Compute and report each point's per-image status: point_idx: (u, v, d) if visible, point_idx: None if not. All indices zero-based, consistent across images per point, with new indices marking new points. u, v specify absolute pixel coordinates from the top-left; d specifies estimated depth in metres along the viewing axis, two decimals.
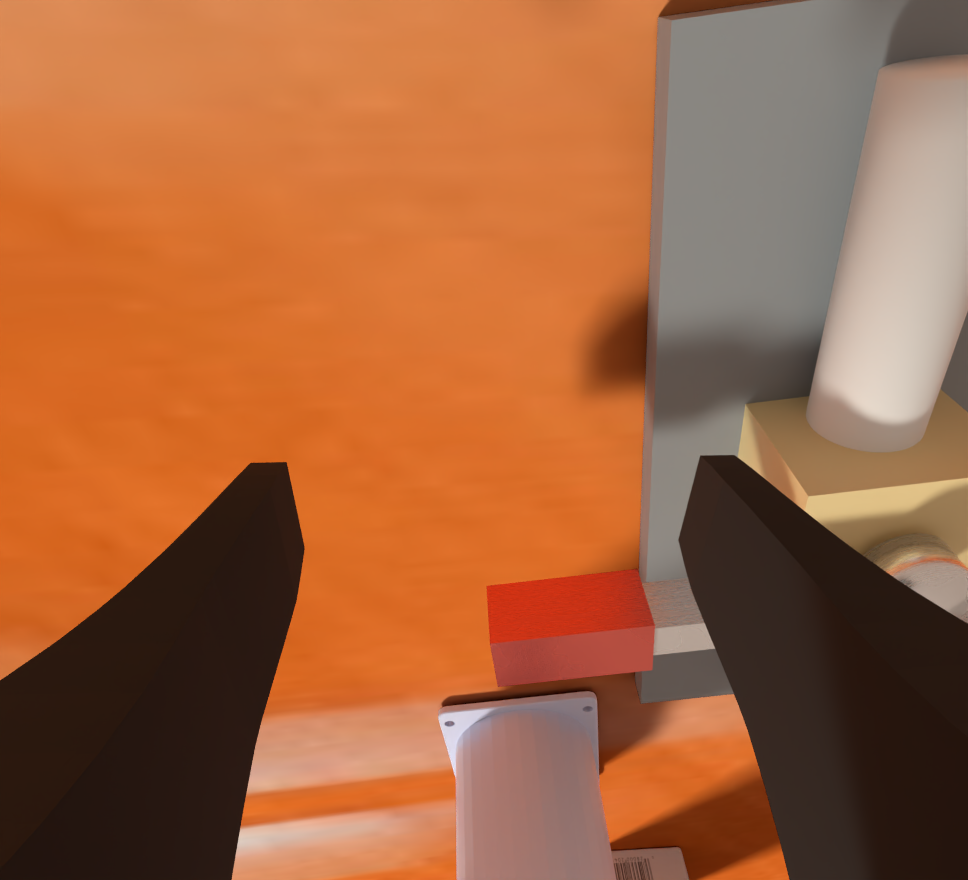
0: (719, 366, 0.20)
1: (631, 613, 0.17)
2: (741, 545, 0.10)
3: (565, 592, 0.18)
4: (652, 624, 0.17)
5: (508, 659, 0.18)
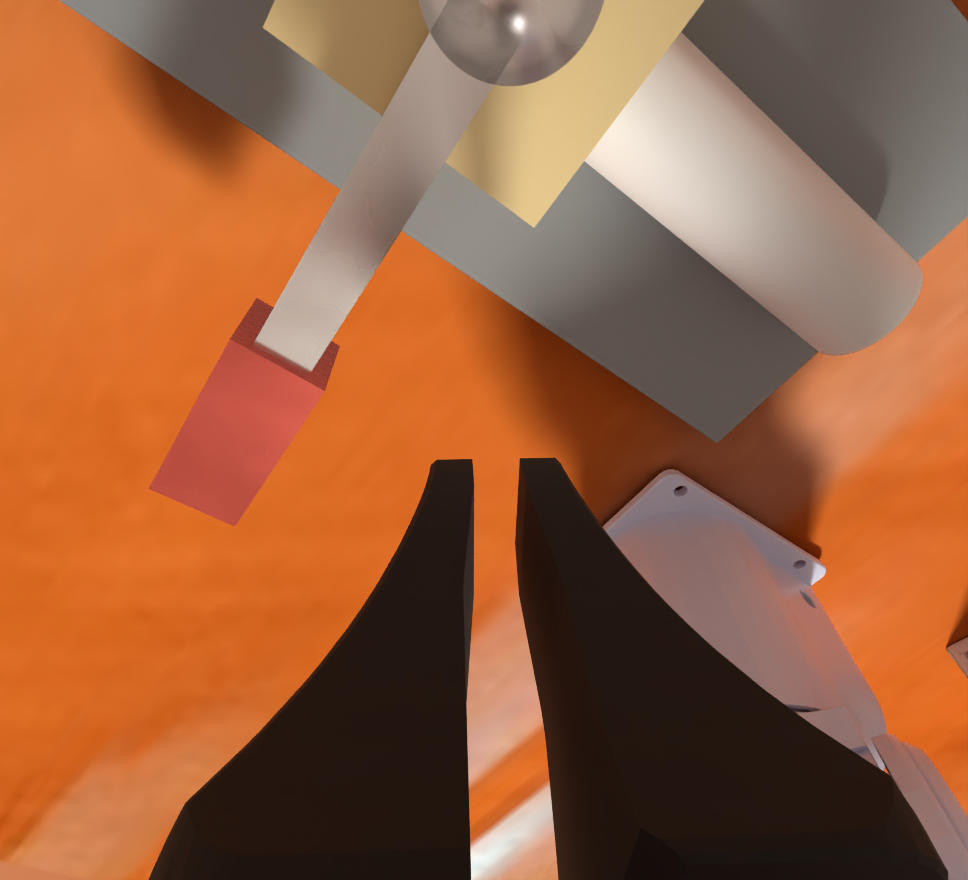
0: (229, 12, 0.15)
1: None
2: (535, 550, 0.10)
3: None
4: None
5: (189, 491, 0.14)
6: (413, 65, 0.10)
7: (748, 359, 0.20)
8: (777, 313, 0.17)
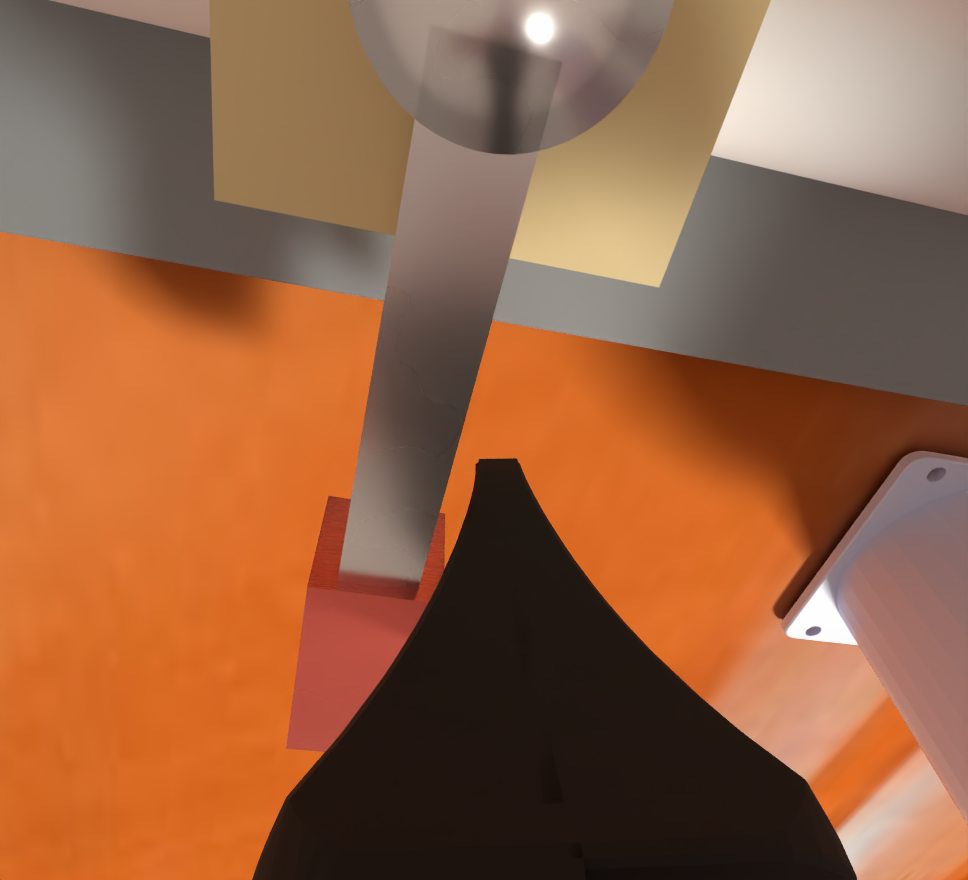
0: (200, 167, 0.12)
1: None
2: None
3: None
4: None
5: (331, 740, 0.12)
6: (408, 175, 0.06)
7: None
8: None
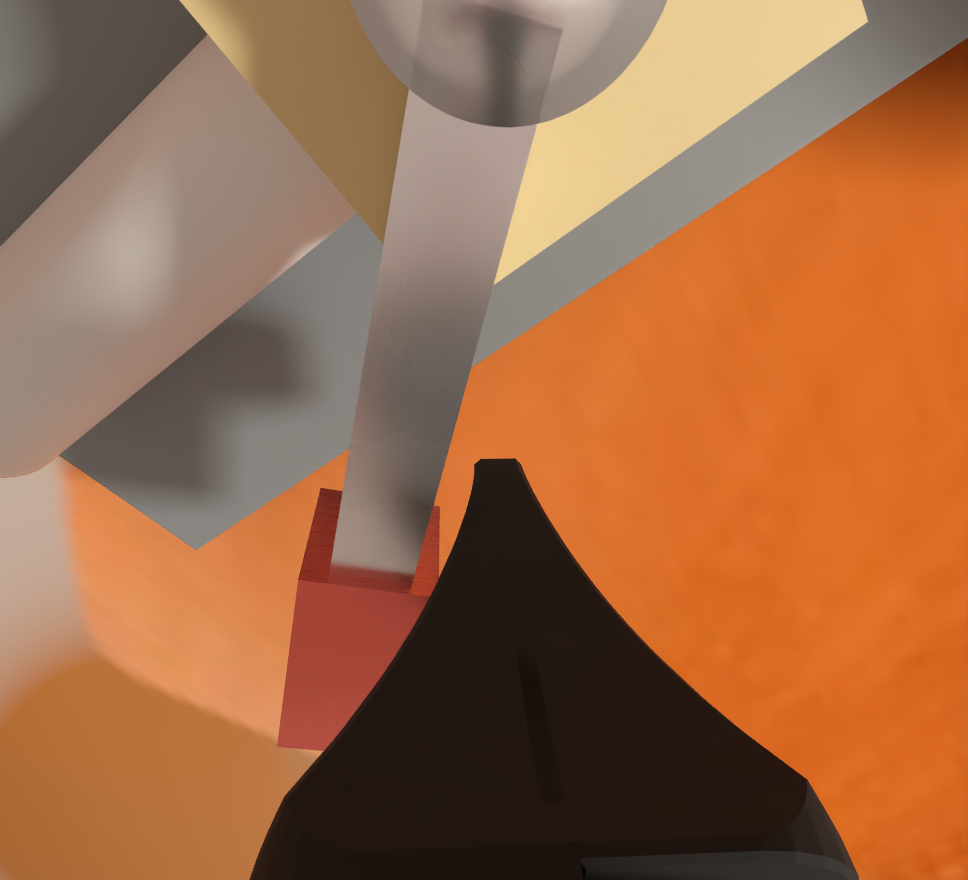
0: None
1: None
2: None
3: None
4: None
5: (323, 738, 0.11)
6: (402, 148, 0.06)
7: None
8: None
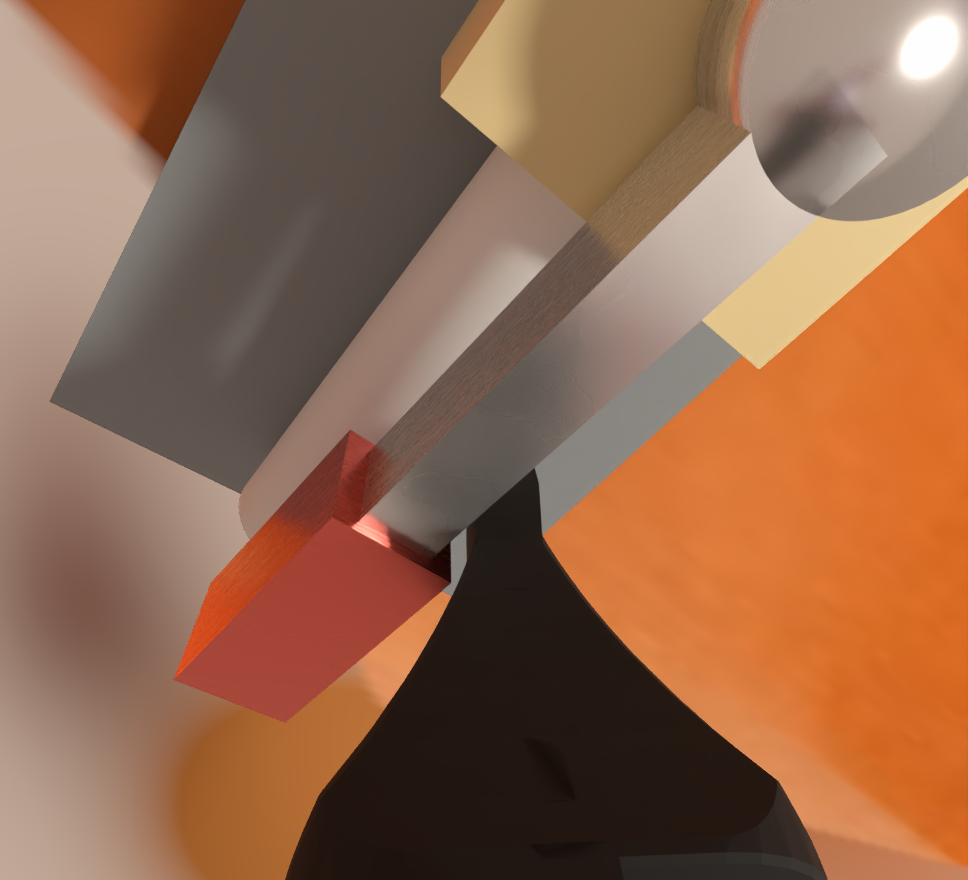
0: None
1: (315, 516, 0.09)
2: None
3: (269, 533, 0.10)
4: (329, 517, 0.08)
5: (231, 685, 0.10)
6: (708, 177, 0.06)
7: None
8: None
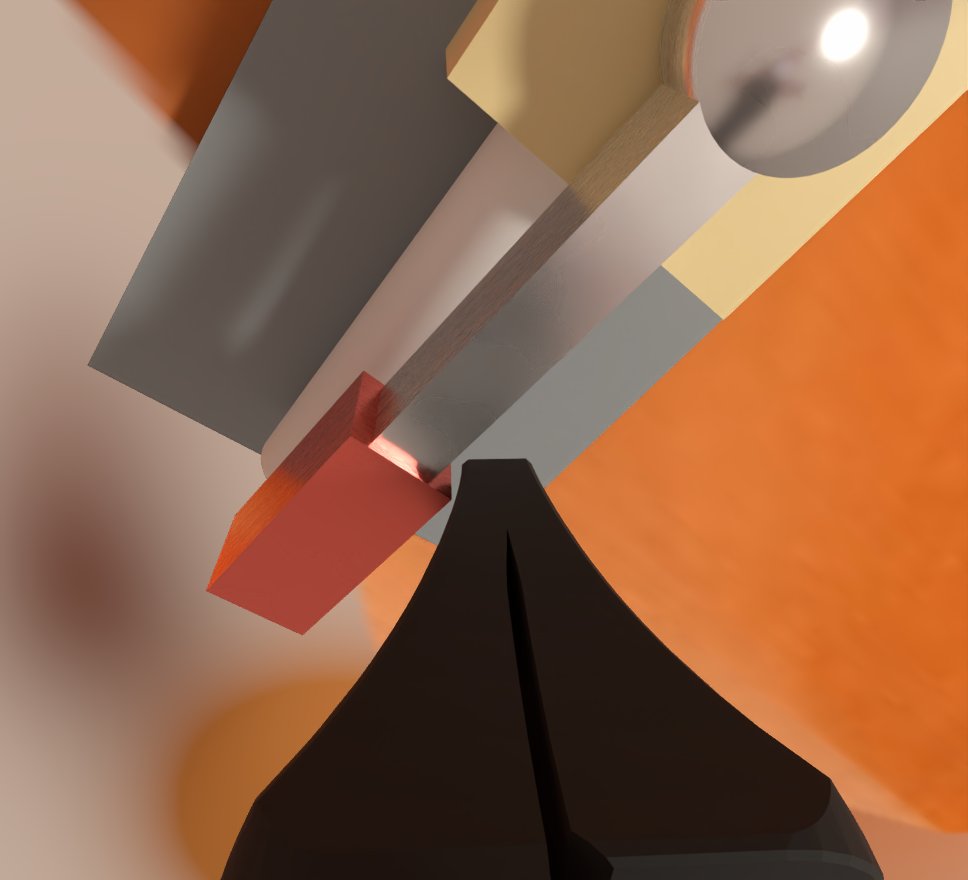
0: (634, 309, 0.16)
1: (334, 439, 0.10)
2: None
3: (290, 464, 0.12)
4: (348, 436, 0.10)
5: (256, 596, 0.12)
6: (665, 138, 0.08)
7: None
8: None
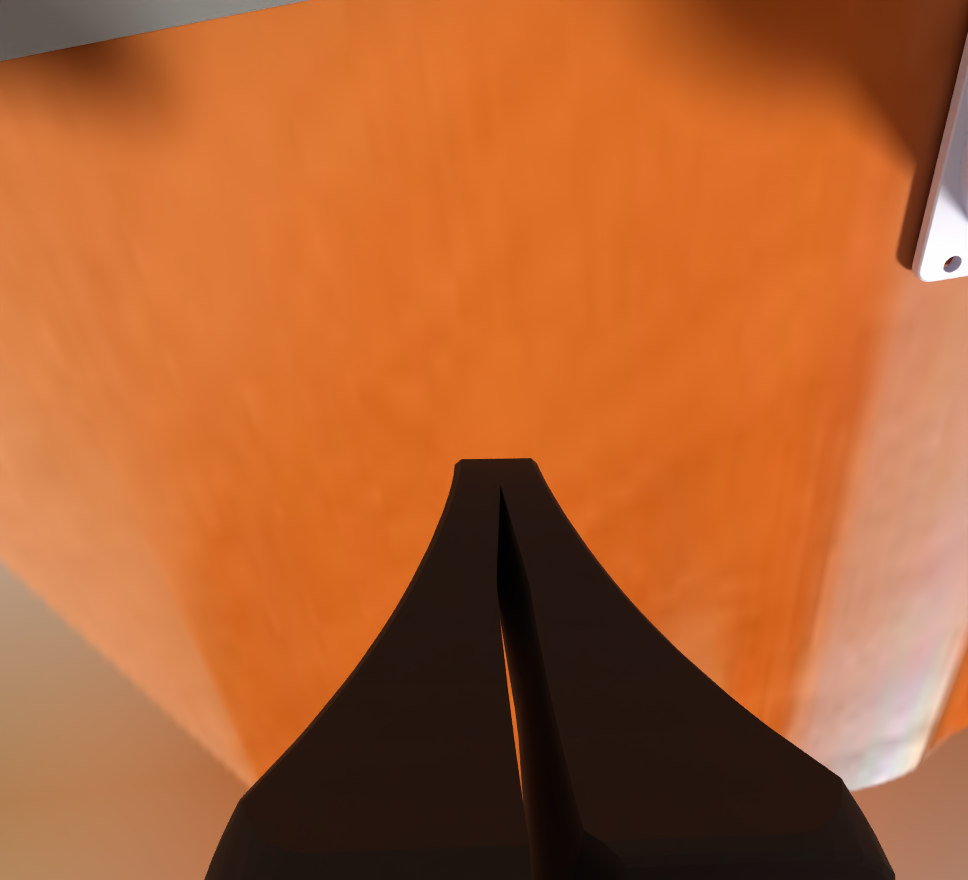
0: None
1: None
2: (508, 551, 0.10)
3: None
4: None
5: None
6: None
7: None
8: None
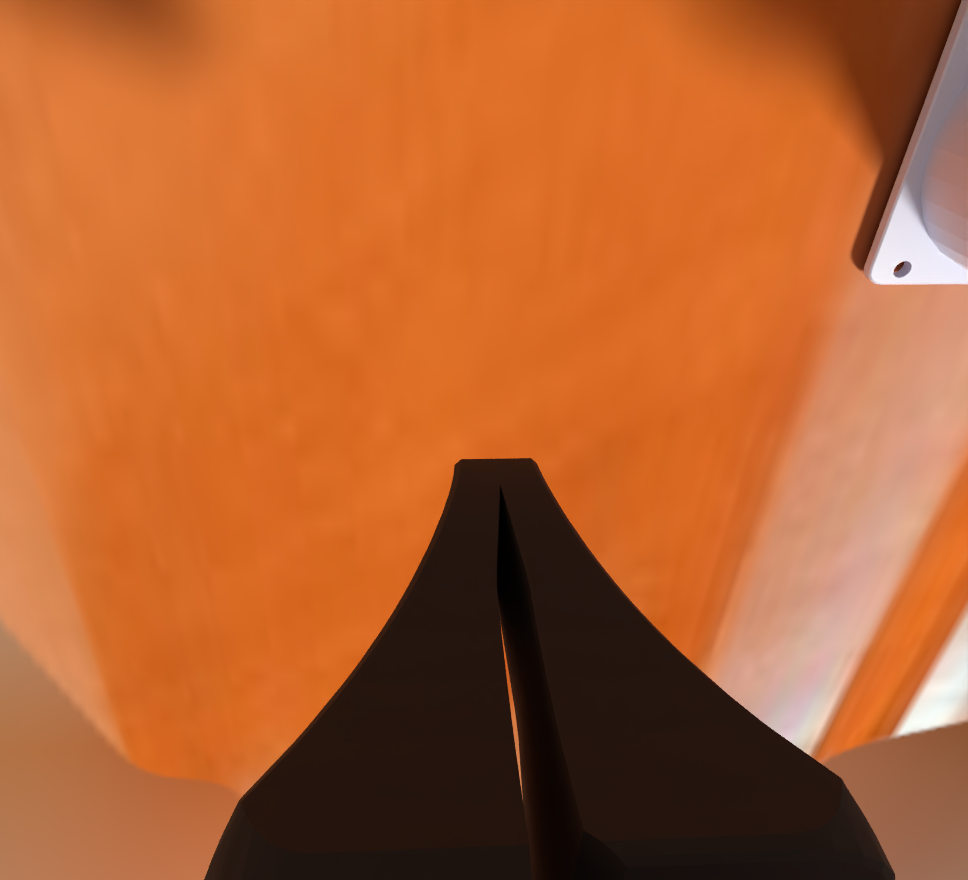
0: None
1: None
2: (508, 551, 0.10)
3: None
4: None
5: None
6: None
7: None
8: None
